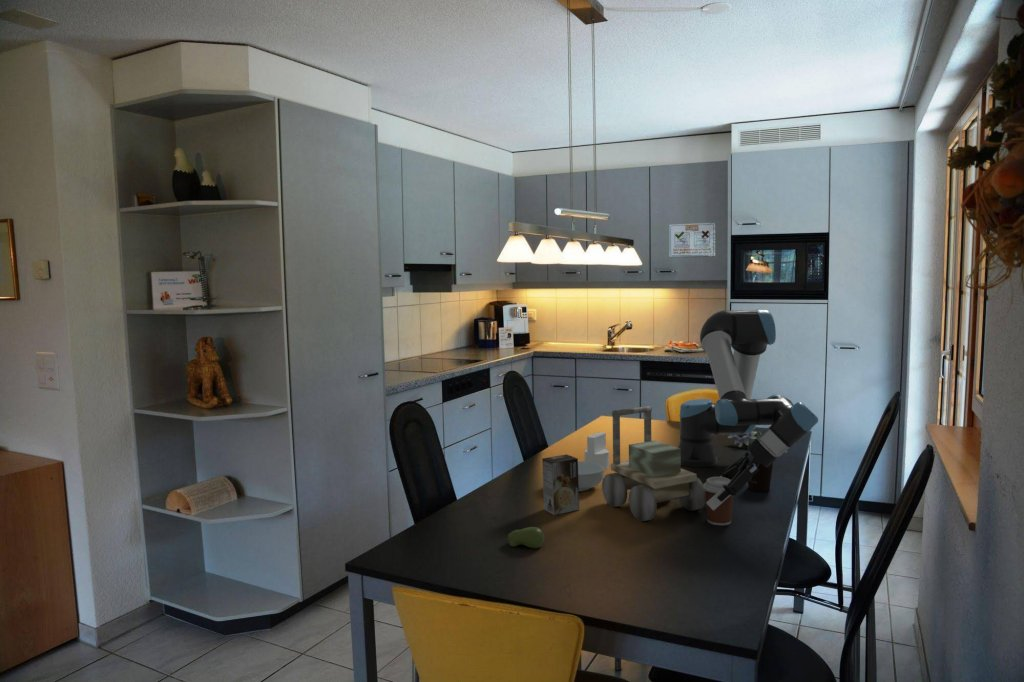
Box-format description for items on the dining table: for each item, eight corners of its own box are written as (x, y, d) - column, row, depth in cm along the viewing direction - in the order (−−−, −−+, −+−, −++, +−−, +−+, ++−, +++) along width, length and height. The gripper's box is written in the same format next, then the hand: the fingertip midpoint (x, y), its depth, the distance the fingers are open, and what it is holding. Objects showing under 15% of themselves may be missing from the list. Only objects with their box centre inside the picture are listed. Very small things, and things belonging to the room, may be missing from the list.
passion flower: (740, 460, 272) (722, 436, 273) (747, 449, 281) (729, 426, 282) (763, 448, 265) (745, 423, 267) (769, 437, 274) (751, 413, 275)
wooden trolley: (602, 501, 209) (601, 410, 207) (655, 491, 218) (654, 403, 216) (649, 526, 188) (649, 424, 185) (706, 513, 197) (706, 416, 194)
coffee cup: (700, 525, 188) (701, 483, 187) (704, 514, 196) (704, 474, 195) (735, 528, 184) (735, 486, 183) (736, 517, 193) (737, 477, 192)
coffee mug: (775, 493, 213) (775, 462, 212) (747, 492, 215) (747, 462, 214) (769, 482, 224) (769, 453, 223) (742, 481, 226) (742, 452, 225)
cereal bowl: (613, 486, 225) (613, 465, 224) (584, 499, 212) (583, 477, 212) (573, 477, 236) (573, 457, 236) (543, 488, 224) (542, 468, 223)
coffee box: (568, 504, 208) (567, 453, 207) (579, 510, 202) (579, 458, 201) (542, 509, 204) (541, 457, 202) (553, 515, 198) (552, 462, 197)
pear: (537, 531, 171) (502, 532, 176) (541, 551, 172) (506, 552, 176) (545, 523, 177) (511, 525, 181) (548, 543, 177) (514, 544, 181)
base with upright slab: (601, 471, 242) (601, 438, 241) (580, 467, 248) (579, 435, 247) (613, 465, 250) (613, 434, 248) (592, 462, 255) (592, 431, 254)
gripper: (783, 469, 173) (721, 523, 178) (771, 448, 196) (716, 497, 201) (762, 448, 174) (700, 503, 179) (752, 429, 197) (698, 479, 202)
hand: (708, 500), depth 190 cm, fingers open, 11 cm apart
